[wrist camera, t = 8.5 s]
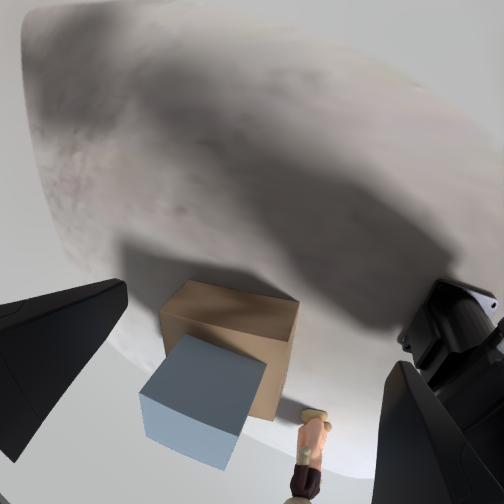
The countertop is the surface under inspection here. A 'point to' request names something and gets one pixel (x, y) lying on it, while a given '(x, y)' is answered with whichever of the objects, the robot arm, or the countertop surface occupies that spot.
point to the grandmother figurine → (309, 457)
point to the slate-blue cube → (200, 400)
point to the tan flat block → (236, 331)
